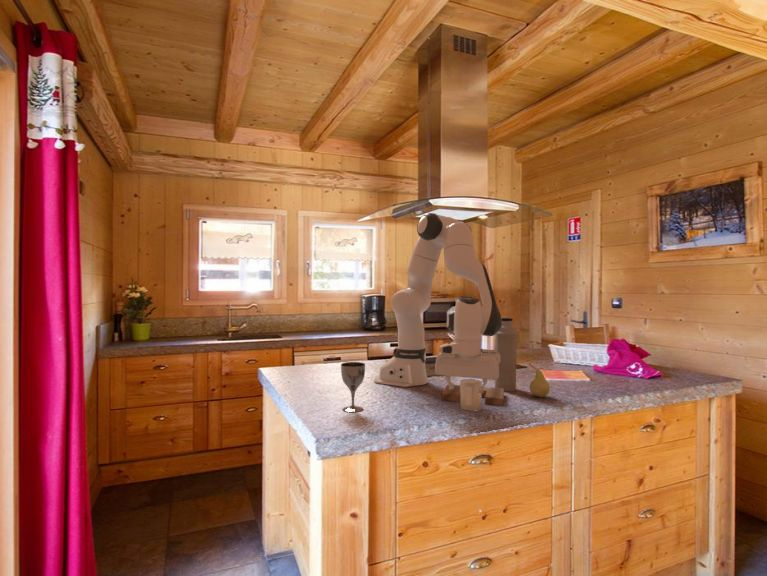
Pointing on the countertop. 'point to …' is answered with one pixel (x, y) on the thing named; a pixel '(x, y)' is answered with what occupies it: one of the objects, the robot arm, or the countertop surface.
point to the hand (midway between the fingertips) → (466, 390)
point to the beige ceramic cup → (470, 394)
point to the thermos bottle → (506, 355)
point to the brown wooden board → (490, 395)
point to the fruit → (539, 384)
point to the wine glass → (353, 381)
